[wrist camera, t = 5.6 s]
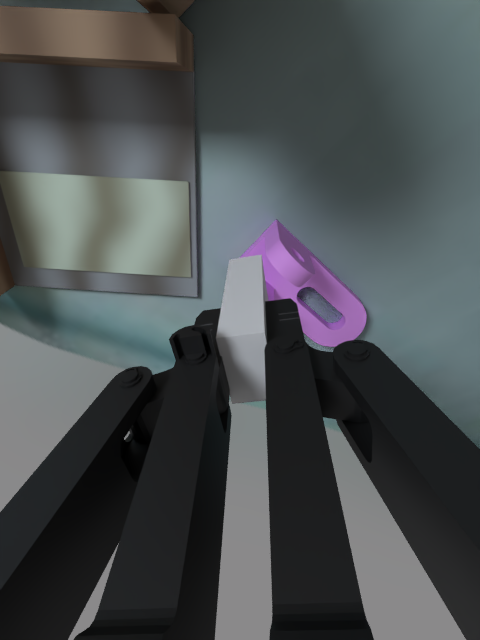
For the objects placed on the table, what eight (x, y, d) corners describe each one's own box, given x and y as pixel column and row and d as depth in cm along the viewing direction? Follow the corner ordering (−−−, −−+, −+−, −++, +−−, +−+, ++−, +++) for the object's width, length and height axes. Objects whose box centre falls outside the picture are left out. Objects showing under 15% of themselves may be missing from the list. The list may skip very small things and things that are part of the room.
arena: (-3, 281, 33) (-52, 313, 28) (-90, 21, 24) (-188, -4, 18) (198, 294, 33) (186, 328, 28) (193, 35, 23) (174, 14, 18)
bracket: (232, 265, 31) (225, 301, 25) (276, 218, 29) (280, 246, 23) (329, 348, 35) (343, 396, 29) (374, 312, 33) (400, 357, 27)
